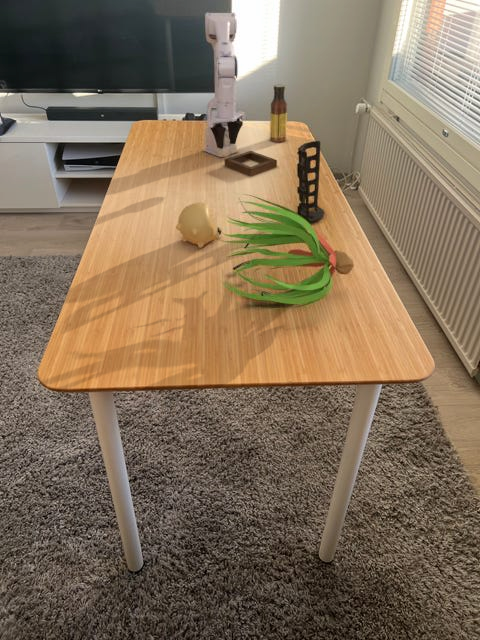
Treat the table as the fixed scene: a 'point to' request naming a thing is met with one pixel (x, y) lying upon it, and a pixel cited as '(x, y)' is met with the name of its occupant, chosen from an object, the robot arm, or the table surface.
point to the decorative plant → (289, 256)
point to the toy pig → (198, 224)
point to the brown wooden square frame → (237, 165)
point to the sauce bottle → (278, 115)
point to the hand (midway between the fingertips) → (226, 146)
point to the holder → (308, 182)
